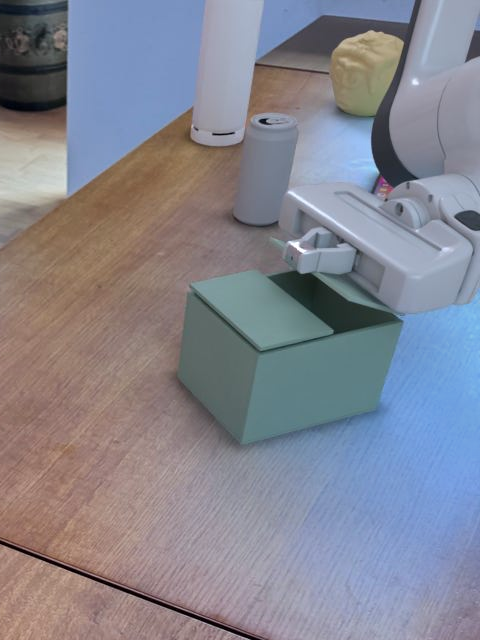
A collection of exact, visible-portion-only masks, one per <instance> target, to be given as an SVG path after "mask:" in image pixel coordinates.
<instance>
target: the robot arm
mask: <svg viewBox="0 0 480 640" xmlns="http://www.w3.org/2000/svg"><path fill="white" fill-rule="evenodd" d="M479 16H480V0H415V1H414V4H413V7H412V12H411V15H410V19H409V23H408V26H407V30H406V34H405V38H404V41H403V42H404V45H403V49H402V52H401V56H400V59H399V63H398V66H397V69H396V72H395V75H394V77H393V80H392V82H391V84H390V86H389V88H388V90H387V92H386V94H385V96H384V98H383V100H382V102H381V104H380V106H379V108H378V110H377V113H376V115H375V116H374V119H373V122H372V127H371V133H370V134H371V135H370V149H371V155H372V159H373V162H374V165H375V167H376V169H377V171H378V173H380V174H381V176H382V177H383V178H384V180H385V181H386V182H387V183H388V184H389V185H390V186H392V187H393V188H394V189H393V190H392V191H391V192H390V193H389V194H388V196H387V197H386V198H385V200H384V201H383V200H381V199H380V198H378V197H376V196H375V195H373V194H371V191H368V190H366V189H364V188H363V187H361V186H359V185H358V184H355V183H351V182H345V181H332V182H331V181H330V182H322V183H313V184H305V185H299V186H293V187H291V188H288V190H287V192H286V193H285V194H284V196H283V200H282V205H281V209H280V215H279V220H278V221H277V223H278V224H277V225H278V227H279V229H280V230H282V231H283V232H285V234H287V235H289V236H290V237H292V238H293V239H294V240H293V239H292V240H289V241H286V242H287V243H286V244H285V246H284V249H283V252H282V255H281V259H282V261H283V262H284V263H286V264H287V265H289V266H290V267H291V268H292V269H293V268H294V269H296V270H297V271H298V272H299V273H300V274H305V273H310V272H315V271H316V272H322V273H330V274H344V275H345V276H347V277H348V278H350V279H351V280H352V281H354V282H355V283H357V284H358V285H359V286H361V287H362V288H363V289H365V290H366V291H368V292H369V293H370V294H372V295H373V296H374V297H376V298H377V299H379V300H380V301H381V302H383V303H384V304H386V305H387V306H388V307H390V308H391V309H392V310H394V311H395V312H400V313H405V315H419V314H424V313H429V312H433V311H438V310H442V309H445V308H449V307H450V306H464V305H467V304H471V303H472V302H473V300H474V299H475V296H476V294H477V292H478V290H479V289H480V55H479V56H477V57H473V58H471V59H469V60H468V61H466V60H467V57H468V53H469V50H470V47H471V43H472V40H473V36H474V33H475V28H476V26H477V22H478V19H479Z"/></svg>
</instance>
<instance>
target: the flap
mask: <svg viewBox="0 0 480 640" xmlns="http://www.w3.org/2000/svg"><path fill="white" fill-rule="evenodd" d="M267 242H269V243H270V244H272V246H274V247H275V248H277V249H278V250H279V251H280V252H282V253H283V249H284V246H285V244H286V243H287V242H288V241H284V240H281V239H278V238H274V237H273V236H270V237H269V238H268V241H267ZM310 273H312V274H313V275H314V276H316V277H317V278H318V279H320V280H321V281H322V282H324V283H325V284H326V285H328V286H329V287H330V288H332V289H333V290H334V291H336V292H337V293H338V294H340V295H341V296H343V297H344V298H345V299H347V300H348V301H351V302H355V303H358V304H362V305H365V306H369V307H372V308H375V309H379V310H382V311H386V312H389V313H393V314H394V315H395V316H400V317H405V315H406V314H405V313H400V312H395V311H394V310H392V309H391V308H390V307H388V306H387V305H386V304H384V303H383V302H381V301H380V300H379V299H377V298H376V297H374V296H373V295H372V294H370V293H369V292H368V291H366V290H365V289H363V288H362V287H361V286H359V285H358V284H357V283H355V282H354V281H352V280H351V279H350V278H348V277H347V276H345V275H344V274H330V273H322V272H316V271H315V272H310Z"/></svg>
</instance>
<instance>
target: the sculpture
mask: <svg viewBox="0 0 480 640" xmlns="http://www.w3.org/2000/svg"><path fill="white" fill-rule="evenodd" d="M403 45H404V41H403V40H402V39H401V38H399V37H397V36H395V35H392V34H388V33H385V32H383V31H379V32H377V31H375V30H373V29H371V30H368V31H366V32H365V33H359V34H357V35H355V36H352V37H348V38H347V37H346V38H345V39H343V40H342V41H341V42H340V43H339V44H338V45H337V47H336V48H334V50H332V53H331V55H330V56H331V57H330V66H329V69H328V72H329V73H328V77H329V79H330V80H331V86H332V91H333V97H334V100H335V104H336V105H337V106H338V107H339V109H340V110H341V111H343V112H344V113H346V114H348V115H352V116H358V117H375V115H376V113H377V110H378V108H379V106H380V104H381V102H382V100H383V98H384V96H385V94H386V92H387V90H388V88H389V86H390V84H391V82H392V80H393V77H394V75H395V72H396V69H397V66H398V63H399V59H400V56H401V52H402V49H403Z"/></svg>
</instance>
